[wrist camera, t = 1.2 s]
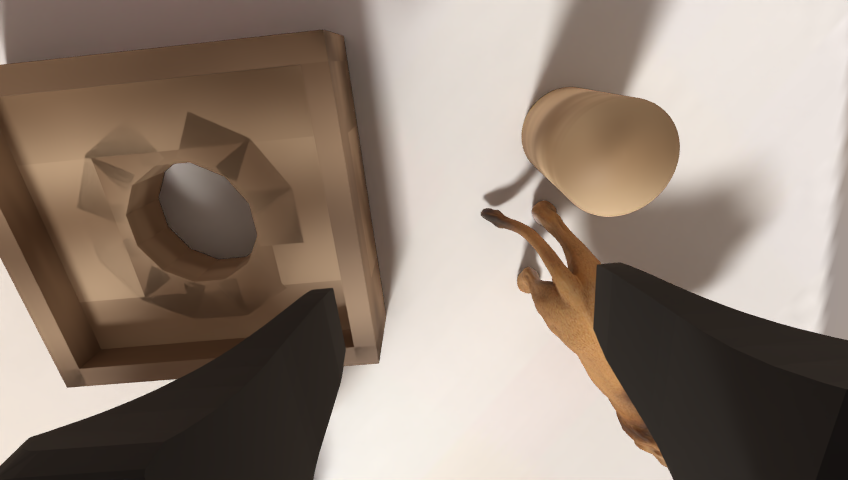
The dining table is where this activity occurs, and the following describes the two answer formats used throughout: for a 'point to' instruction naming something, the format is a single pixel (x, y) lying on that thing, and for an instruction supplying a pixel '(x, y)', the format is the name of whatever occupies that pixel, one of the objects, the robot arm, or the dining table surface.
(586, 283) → the tan animal figurine
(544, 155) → the oak dowel
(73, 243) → the walnut box
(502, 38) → the dining table surface
